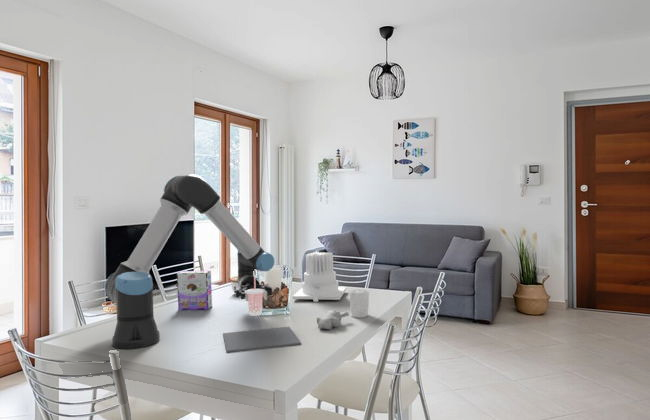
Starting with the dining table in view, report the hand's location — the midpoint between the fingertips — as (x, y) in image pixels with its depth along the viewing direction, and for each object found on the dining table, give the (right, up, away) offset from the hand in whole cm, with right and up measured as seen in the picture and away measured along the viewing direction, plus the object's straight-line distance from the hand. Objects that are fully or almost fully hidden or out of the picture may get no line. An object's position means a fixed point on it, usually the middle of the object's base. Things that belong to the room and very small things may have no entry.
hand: (256, 296), depth 170 cm
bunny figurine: (+27, -12, +7) cm, 31 cm away
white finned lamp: (+22, -11, +57) cm, 62 cm away
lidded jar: (-17, -11, +69) cm, 72 cm away
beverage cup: (-1, -8, +5) cm, 9 cm away
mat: (+2, -13, -8) cm, 16 cm away
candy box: (-33, -13, +39) cm, 53 cm away
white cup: (+38, -11, +20) cm, 45 cm away
